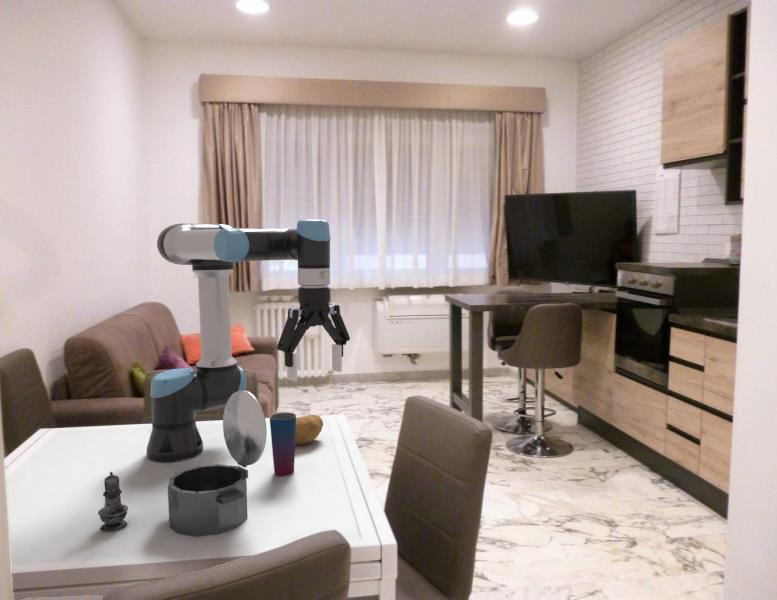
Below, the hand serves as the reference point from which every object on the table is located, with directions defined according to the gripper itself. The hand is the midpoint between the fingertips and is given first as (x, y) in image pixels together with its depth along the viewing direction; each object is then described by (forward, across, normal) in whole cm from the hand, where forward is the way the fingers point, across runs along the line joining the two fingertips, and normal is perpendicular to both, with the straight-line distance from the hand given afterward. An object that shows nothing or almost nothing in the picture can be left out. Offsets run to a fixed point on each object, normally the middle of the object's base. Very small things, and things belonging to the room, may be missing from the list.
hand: (315, 375), depth 146 cm
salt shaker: (+28, -42, +16) cm, 53 cm away
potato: (+28, +19, +29) cm, 45 cm away
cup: (+28, +1, +15) cm, 32 cm away
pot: (+28, -26, +5) cm, 39 cm away
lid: (+10, -17, +5) cm, 20 cm away
